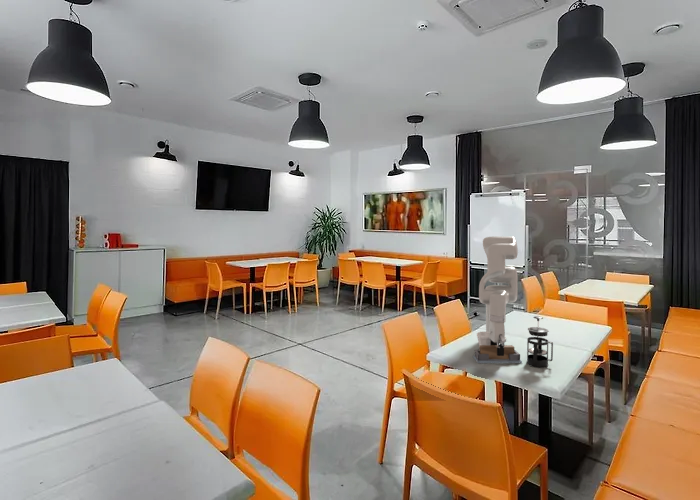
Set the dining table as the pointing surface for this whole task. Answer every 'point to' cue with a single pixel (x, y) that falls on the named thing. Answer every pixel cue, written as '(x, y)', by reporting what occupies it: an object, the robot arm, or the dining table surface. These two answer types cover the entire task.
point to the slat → (493, 351)
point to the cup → (483, 338)
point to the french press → (538, 347)
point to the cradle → (485, 359)
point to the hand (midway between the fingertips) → (496, 352)
